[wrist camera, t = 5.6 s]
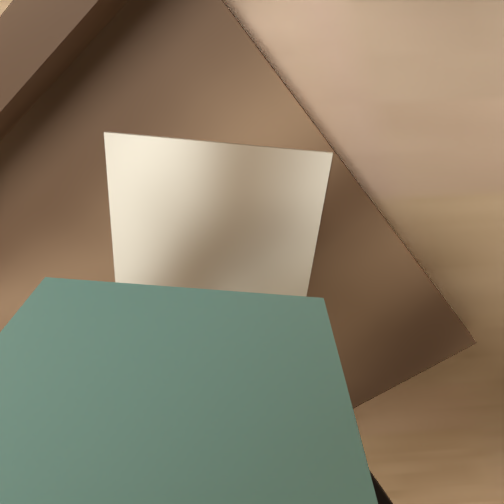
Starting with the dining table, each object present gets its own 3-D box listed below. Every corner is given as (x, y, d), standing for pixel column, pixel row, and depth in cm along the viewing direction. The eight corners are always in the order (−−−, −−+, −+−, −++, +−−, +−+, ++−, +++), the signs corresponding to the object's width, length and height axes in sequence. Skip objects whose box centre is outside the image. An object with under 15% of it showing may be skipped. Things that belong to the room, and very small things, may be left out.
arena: (-170, 282, 16) (-252, 332, 14) (151, -95, 11) (118, -134, 8) (162, 495, 23) (151, 557, 20) (467, 329, 17) (505, 384, 15)
